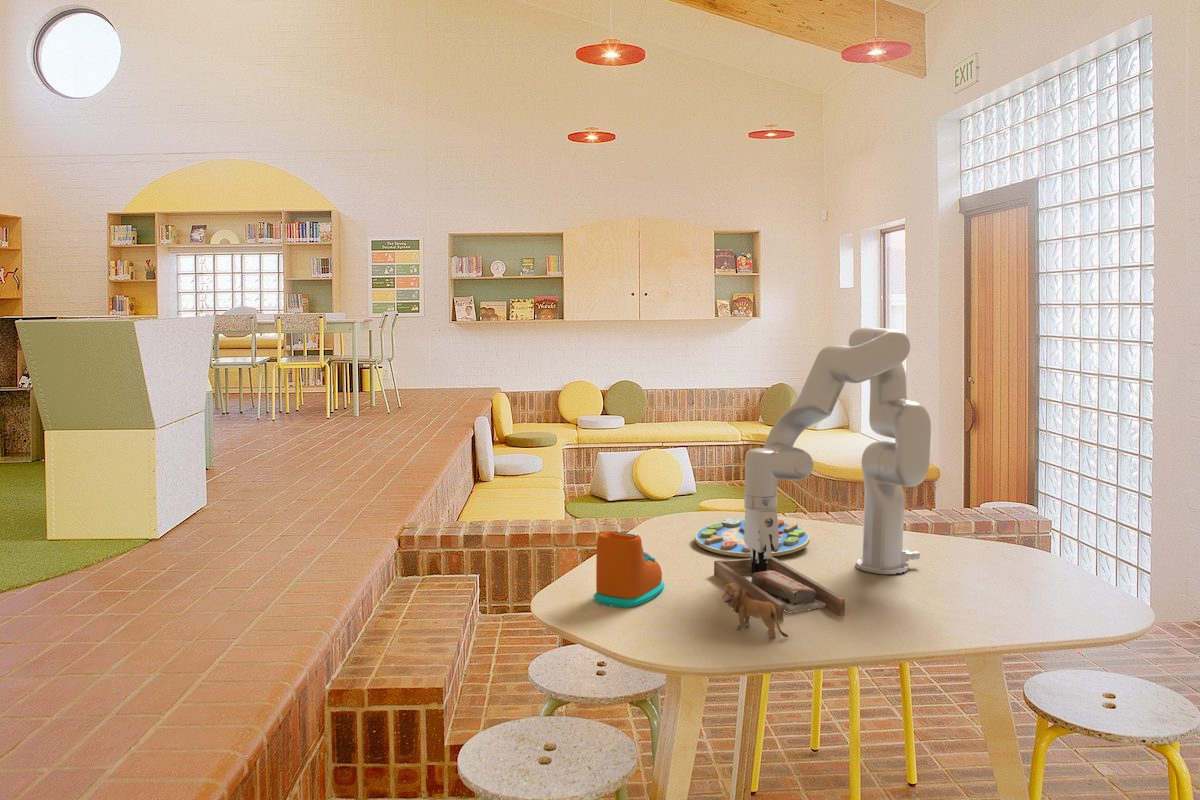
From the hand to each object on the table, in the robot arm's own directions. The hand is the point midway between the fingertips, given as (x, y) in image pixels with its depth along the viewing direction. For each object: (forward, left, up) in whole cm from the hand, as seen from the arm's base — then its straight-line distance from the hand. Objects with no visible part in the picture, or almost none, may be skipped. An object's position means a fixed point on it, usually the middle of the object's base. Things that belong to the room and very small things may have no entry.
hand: (758, 578), depth 233 cm
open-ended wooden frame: (0, +9, -1) cm, 9 cm away
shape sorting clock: (-13, -33, -2) cm, 35 cm away
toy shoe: (+32, +1, -2) cm, 32 cm away
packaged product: (0, +12, -2) cm, 13 cm away
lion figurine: (+15, +30, -1) cm, 34 cm away
